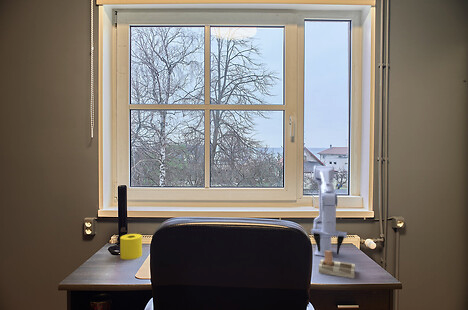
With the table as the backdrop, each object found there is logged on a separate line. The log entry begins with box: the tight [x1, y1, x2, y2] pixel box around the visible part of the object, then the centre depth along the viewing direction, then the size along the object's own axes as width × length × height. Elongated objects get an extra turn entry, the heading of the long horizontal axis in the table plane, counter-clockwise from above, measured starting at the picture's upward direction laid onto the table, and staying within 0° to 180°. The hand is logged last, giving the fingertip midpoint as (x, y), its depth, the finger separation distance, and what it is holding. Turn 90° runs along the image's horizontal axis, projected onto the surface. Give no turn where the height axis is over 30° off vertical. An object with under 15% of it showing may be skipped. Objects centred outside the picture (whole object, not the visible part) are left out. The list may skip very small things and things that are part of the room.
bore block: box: [318, 259, 356, 279], centre depth 128 cm, size 8×14×3 cm, turn 66°
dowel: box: [324, 251, 333, 266], centre depth 129 cm, size 3×3×7 cm
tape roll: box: [119, 233, 143, 261], centre depth 146 cm, size 10×10×9 cm
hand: (328, 252), depth 129 cm, fingers open, 7 cm apart
